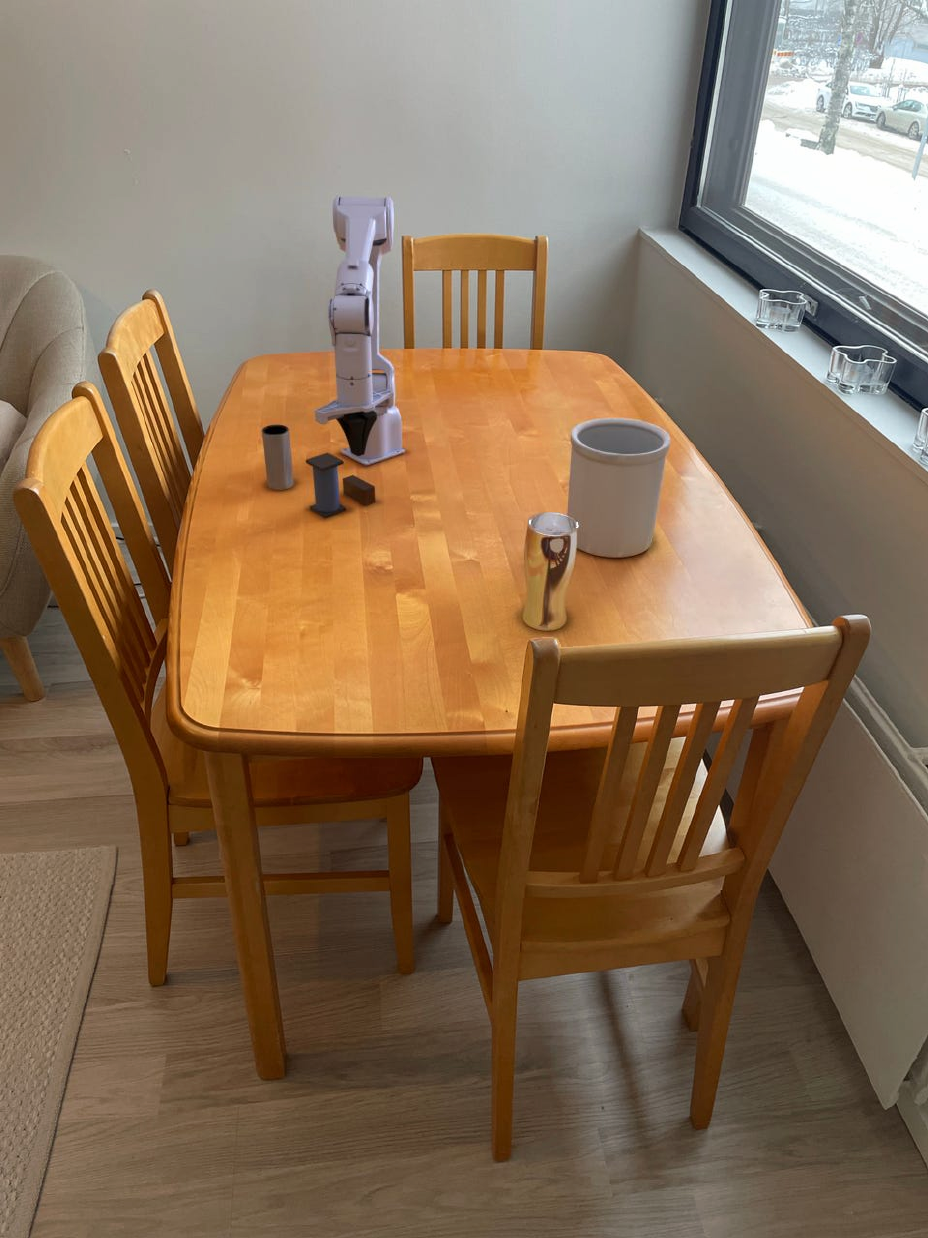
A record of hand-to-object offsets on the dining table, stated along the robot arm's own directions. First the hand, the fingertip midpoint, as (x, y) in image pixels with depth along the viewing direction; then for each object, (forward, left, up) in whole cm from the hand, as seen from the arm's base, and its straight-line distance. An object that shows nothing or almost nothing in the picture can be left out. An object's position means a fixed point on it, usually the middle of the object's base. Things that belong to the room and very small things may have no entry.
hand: (357, 453), depth 152 cm
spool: (+7, 0, -4) cm, 8 cm away
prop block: (0, 0, -8) cm, 8 cm away
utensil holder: (-21, +37, -8) cm, 44 cm away
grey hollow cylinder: (+7, -13, -8) cm, 17 cm away
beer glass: (+4, +46, -8) cm, 47 cm away
